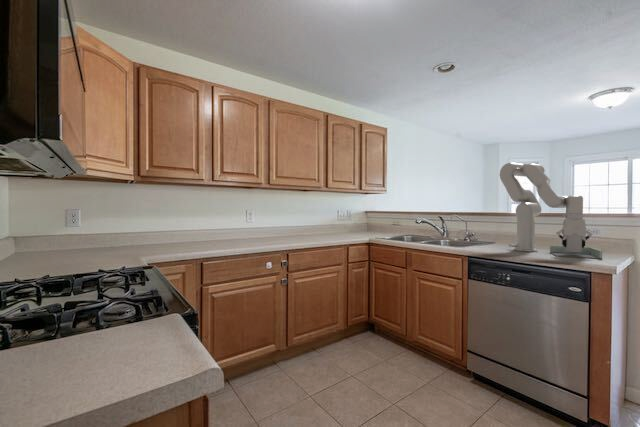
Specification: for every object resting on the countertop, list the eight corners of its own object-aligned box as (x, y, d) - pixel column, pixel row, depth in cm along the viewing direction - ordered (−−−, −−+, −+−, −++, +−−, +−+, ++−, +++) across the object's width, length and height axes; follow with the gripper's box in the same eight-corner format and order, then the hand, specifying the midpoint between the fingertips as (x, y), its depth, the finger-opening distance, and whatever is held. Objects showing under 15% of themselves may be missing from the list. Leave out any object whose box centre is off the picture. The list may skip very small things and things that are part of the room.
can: (580, 252, 174) (581, 232, 173) (582, 254, 167) (583, 233, 167) (564, 251, 178) (564, 231, 178) (565, 253, 172) (566, 232, 171)
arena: (556, 256, 171) (556, 248, 171) (549, 252, 185) (550, 245, 185) (602, 259, 161) (602, 250, 161) (591, 255, 176) (592, 247, 176)
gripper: (556, 216, 173) (556, 246, 173) (596, 217, 165) (595, 248, 165) (553, 216, 180) (553, 245, 180) (591, 216, 171) (590, 247, 172)
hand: (573, 246), depth 173 cm, fingers closed on can, 7 cm apart
